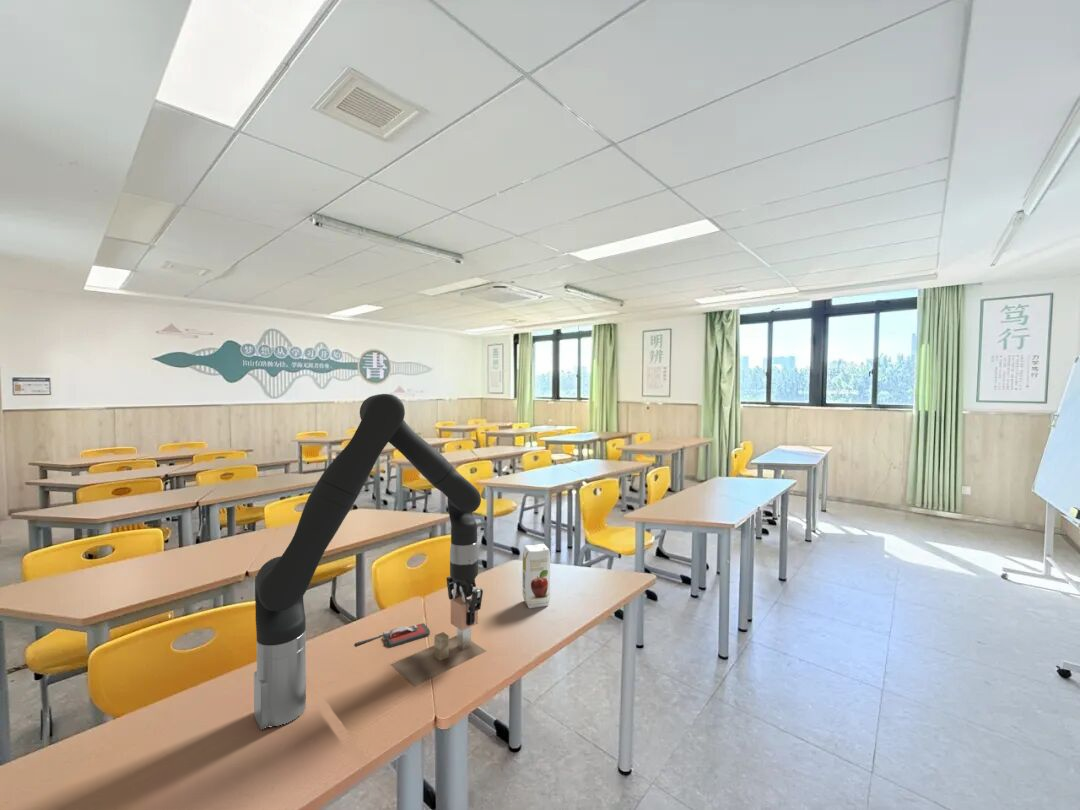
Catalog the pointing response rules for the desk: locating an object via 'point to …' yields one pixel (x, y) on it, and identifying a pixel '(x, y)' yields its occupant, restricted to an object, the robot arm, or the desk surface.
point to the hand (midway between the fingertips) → (464, 620)
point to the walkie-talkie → (401, 635)
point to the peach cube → (460, 613)
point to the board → (435, 659)
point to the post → (464, 638)
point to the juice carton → (536, 575)
